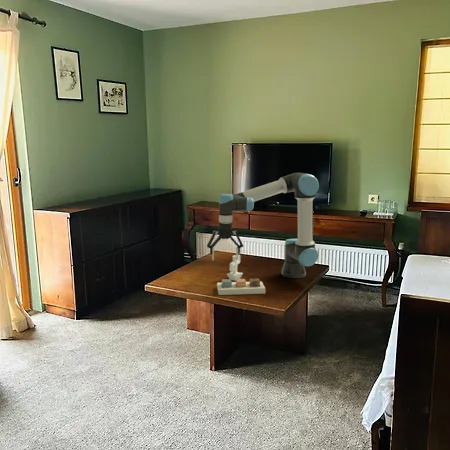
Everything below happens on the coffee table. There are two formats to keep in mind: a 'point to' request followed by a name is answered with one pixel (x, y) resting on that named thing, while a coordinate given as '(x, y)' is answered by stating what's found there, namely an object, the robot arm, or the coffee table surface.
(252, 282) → the walnut key
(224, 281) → the slate key
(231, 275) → the figurine
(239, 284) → the terracotta key
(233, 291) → the key block
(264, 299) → the coffee table surface
